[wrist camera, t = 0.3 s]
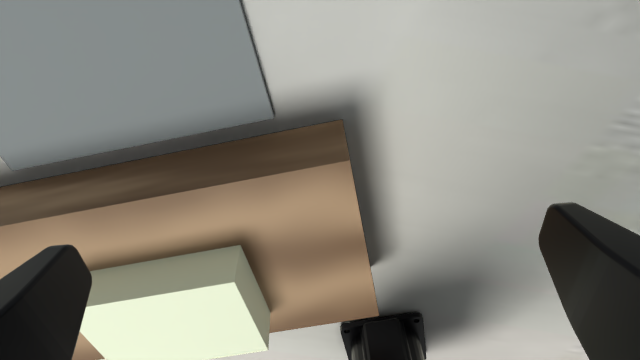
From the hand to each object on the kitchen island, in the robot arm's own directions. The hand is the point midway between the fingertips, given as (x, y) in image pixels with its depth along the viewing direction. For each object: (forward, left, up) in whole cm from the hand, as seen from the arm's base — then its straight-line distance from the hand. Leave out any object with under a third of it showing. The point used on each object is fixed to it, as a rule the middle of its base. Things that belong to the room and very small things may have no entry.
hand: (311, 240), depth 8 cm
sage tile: (-12, +10, -10) cm, 19 cm away
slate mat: (+1, +10, -14) cm, 17 cm away
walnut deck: (-11, +10, -14) cm, 21 cm away
